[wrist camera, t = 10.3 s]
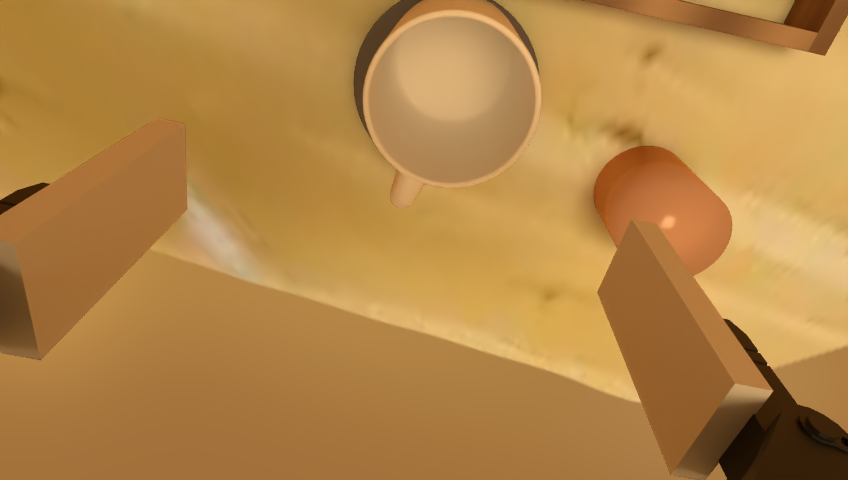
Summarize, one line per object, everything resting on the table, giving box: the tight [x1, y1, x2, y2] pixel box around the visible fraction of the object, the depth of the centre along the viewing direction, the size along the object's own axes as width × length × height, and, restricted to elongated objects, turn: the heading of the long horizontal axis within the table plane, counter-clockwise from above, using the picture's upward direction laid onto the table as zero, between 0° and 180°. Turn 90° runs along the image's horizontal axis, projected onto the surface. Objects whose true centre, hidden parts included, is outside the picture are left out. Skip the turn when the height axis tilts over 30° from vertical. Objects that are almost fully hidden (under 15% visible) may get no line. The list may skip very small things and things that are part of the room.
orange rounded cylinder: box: [594, 146, 732, 276], centre depth 34 cm, size 6×6×7 cm
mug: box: [363, 0, 542, 208], centre depth 30 cm, size 12×8×10 cm
